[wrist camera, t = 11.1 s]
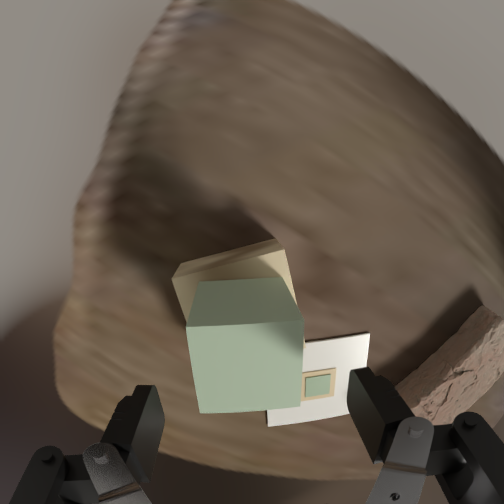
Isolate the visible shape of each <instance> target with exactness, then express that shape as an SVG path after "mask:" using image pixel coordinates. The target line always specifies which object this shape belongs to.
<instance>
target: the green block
mask: <svg viewBox="0 0 504 504" xmlns="http://www.w3.org/2000/svg"><path fill="white" fill-rule="evenodd" d="M186 332H187V339H188V346H189V352H190V359H191V365H192V371H193V377H194V383H195V388H196V394H197V399H198V405H199V410H200V413H230V412H248V411H262V410H273V409H283V408H292V407H300V404H301V387H302V368H303V344H304V318H303V316H302V314H301V312H300V310H299V308H298V306H297V305H296V303H295V301H294V299H293V297H292V295H291V293H290V291H289V289H288V287H287V285H286V283H285V281H284V279H283V277H271V278H254V279H237V280H219V281H199V283H198V286H197V290H196V293H195V296H194V300H193V303H192V307H191V310H190V314H189V317H188V321H187V324H186Z"/></svg>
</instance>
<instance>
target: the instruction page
mask: <svg viewBox="0 0 504 504" xmlns="http://www.w3.org/2000/svg"><path fill="white" fill-rule="evenodd" d="M369 339H370V333H364V334H358V335H352V336H346V337H339V338H332V339H325V340H318V341H311V342H305V345H306V348H304V349H303V368H302V387H301V404H300V407H292V408H283V409H273V410H267V418H268V427H269V426H278V425H286V424H293V423H300V422H307V421H313V420H319V419H325V418H330V417H335V416H340V415H345V414H350V413H349V411H348V407H347V390H348V382H349V373H350V370H352V369H357V368H363V367H366V364H367V356H368V348H369Z"/></svg>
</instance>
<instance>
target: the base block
mask: <svg viewBox="0 0 504 504" xmlns="http://www.w3.org/2000/svg"><path fill="white" fill-rule="evenodd" d="M271 277H283V279H284V281H285V283H286V285H287V287H288V289H289V291H290V293H291V295H292V297H293V299H294V301H295V303H296V298H295V294H294V289H293V285H292V280H291V276H290V272H289V267H288V263H287V259H286V254H285V250H284V248H283V247H282V246H281V244H280V243H279V242H278V241H277V239H276V238H275V239H271V240H267V241H263V242H259V243H255V244H252V245H248V246H244V247H240V248H236V249H233V250H229V251H225V252H221V253H218V254H214V255H210V256H206V257H202V258H199V259H195V260H191V261H187V262H184V263H181V264H180V265H179V267H178V269H177V270H176V272H175V274H174V275H173V277H172V282H173V285H174V288H175V291H176V294H177V297H178V300H179V303H180V305H181V308H182V311H183V314H184V317H185V319H186V322H187V321H188V317H189V314H190V310H191V307H192V303H193V300H194V296H195V293H196V290H197V286H198V283H199V281H219V280H237V279H254V278H271ZM296 305H297V303H296ZM304 348H306V345H305V340H304V344H303V349H304Z"/></svg>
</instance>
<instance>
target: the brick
mask: <svg viewBox="0 0 504 504" xmlns="http://www.w3.org/2000/svg"><path fill="white" fill-rule="evenodd" d="M503 372H504V320H503V319H502V318H501V317H500V316H498V315H497V314H496V313H494V312H492V311H491V310H489V309H488V308H486V307H485V306H480V307H479V308H478V309H477V310H476V311H475V312H474V313H473V314H472V315H470V317H469V318H468V319H467V320H466V321H465V322H464V323H463V324H462V326H461V327H460V328H459V330H458V331H457V333H455V334H454V335H453V336H451V337H450V338H449V339H448V340H447V341H446V342H445V343H444V344H443V345H442V346H441V347H440V348H439V349H438V350H437V351H436V352H435V353H434V354H432V355H431V356H430V357H429V358H428V359H427V360H426V361H425V362H423V363H422V364H421V365H420V366H419V368H418V369H416V370H414V371H413V372H412V373H410V374H409V375H408V376H407V377H406V378H405V379H404V380H402V381H401V382H400V383H399V384H397V385H396V386H395V390H397V391H398V393H399V394H400V396H401V397H402V398H403V400H404V401H405V402H406V404H407V405H408V407H409V408H410V409H411V411H412V412H413V414H414V415H415V416H416V417H423V418H425V419H427V420H429V421H430V422H431V423H432V424H433V425H444V424H451V423H452V421H453V420H454V419H455V417H456V416H457V415H459V414H460V413H463V412H465V411H466V410H467V409H468V408H469V407H470V406H472V405H473V404H474V402H476V401H477V400H478V399H479V398H480V397H481V396H483V395H484V394H485V392H486V391H488V390H489V389H490V388H491V386H492V385H493V384H494V382H495V381H496V380H498V379H499V377H500V376H501V374H502V373H503Z"/></svg>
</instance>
